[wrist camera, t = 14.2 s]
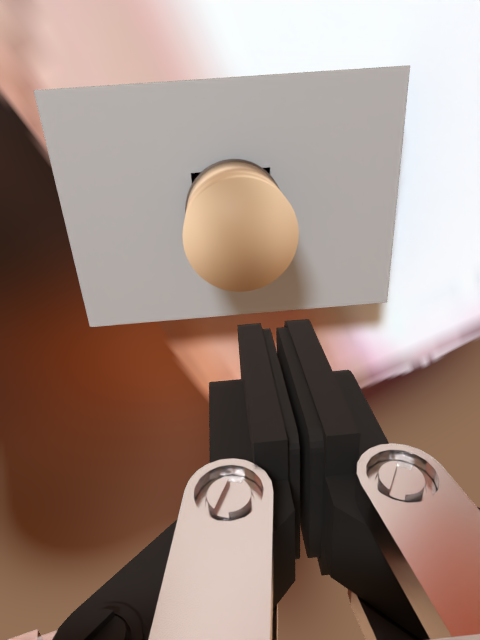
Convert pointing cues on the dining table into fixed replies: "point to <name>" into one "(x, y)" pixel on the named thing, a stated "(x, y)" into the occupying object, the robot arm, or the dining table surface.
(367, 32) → the dining table surface
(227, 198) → the maple peg
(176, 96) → the grey block with hole
